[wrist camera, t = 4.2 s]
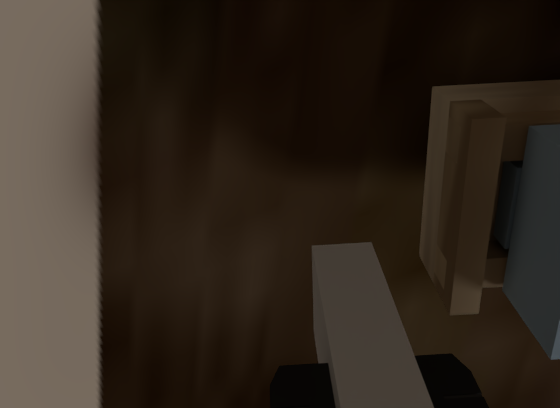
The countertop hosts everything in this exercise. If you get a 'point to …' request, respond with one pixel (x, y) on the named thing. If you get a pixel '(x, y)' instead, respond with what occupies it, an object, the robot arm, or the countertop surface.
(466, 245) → the brown wooden crate
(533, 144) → the blue-grey rectangular block
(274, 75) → the countertop surface
